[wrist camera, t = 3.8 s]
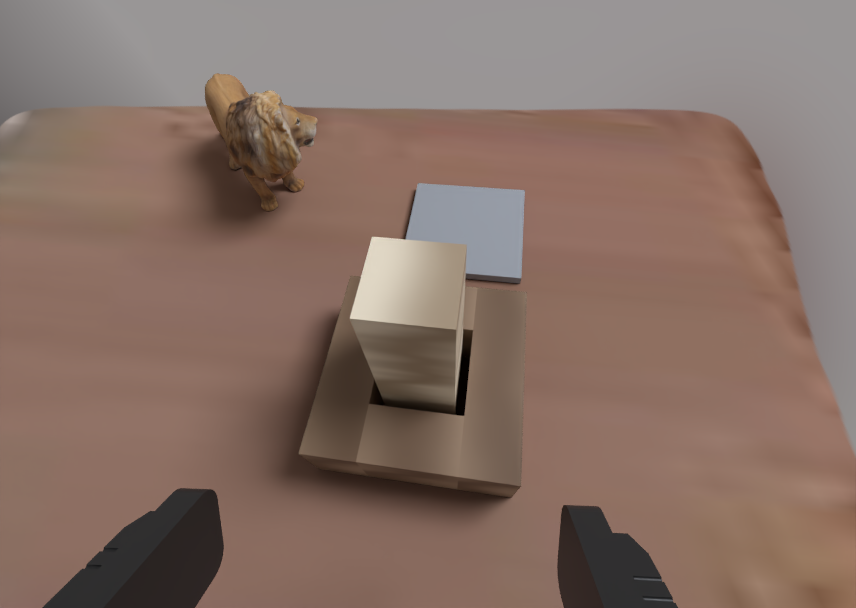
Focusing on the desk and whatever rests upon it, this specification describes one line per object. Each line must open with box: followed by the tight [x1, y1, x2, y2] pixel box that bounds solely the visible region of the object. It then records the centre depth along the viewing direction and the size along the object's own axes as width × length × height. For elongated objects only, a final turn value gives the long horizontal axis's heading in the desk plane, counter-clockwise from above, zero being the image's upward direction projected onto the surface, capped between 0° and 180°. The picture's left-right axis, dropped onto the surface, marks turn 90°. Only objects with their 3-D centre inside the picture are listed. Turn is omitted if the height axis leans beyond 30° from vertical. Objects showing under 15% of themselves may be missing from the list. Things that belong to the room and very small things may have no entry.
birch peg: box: [350, 237, 467, 415], centre depth 20 cm, size 4×4×11 cm
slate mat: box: [406, 183, 525, 283], centre depth 30 cm, size 8×8×1 cm
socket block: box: [298, 276, 527, 498], centre depth 23 cm, size 10×10×4 cm
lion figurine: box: [205, 74, 317, 211], centre depth 31 cm, size 15×5×9 cm, turn 44°
